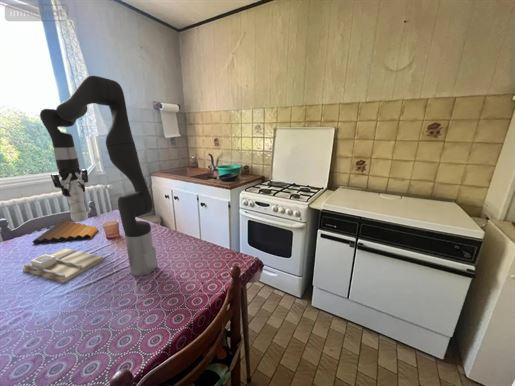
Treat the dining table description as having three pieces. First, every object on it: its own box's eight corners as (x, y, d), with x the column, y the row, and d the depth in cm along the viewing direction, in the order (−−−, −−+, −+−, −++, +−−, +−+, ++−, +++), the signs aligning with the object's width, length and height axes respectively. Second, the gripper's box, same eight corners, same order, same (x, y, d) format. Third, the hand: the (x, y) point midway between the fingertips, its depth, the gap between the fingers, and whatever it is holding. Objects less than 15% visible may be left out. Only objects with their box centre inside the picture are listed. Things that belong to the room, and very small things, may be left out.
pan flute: (60, 224, 133) (33, 245, 110) (59, 219, 132) (31, 239, 109) (108, 221, 140) (91, 239, 116) (107, 216, 139) (90, 233, 116)
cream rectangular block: (56, 262, 93) (54, 256, 92) (42, 269, 88) (40, 262, 87) (46, 260, 94) (44, 253, 93) (32, 266, 90) (30, 259, 89)
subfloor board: (103, 259, 98) (102, 254, 97) (64, 282, 83) (62, 276, 83) (65, 251, 104) (64, 246, 104) (23, 270, 90) (21, 265, 89)
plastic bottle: (74, 224, 100) (64, 182, 95) (70, 221, 104) (60, 179, 99) (91, 220, 105) (82, 179, 100) (86, 217, 109) (78, 177, 104)
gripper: (77, 155, 104) (84, 189, 109) (41, 159, 91) (51, 197, 95) (89, 156, 102) (96, 191, 107) (54, 160, 89) (63, 199, 93)
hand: (74, 194), depth 101 cm, fingers closed on plastic bottle, 6 cm apart
